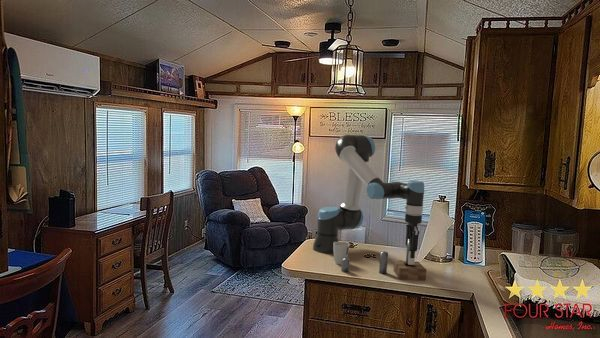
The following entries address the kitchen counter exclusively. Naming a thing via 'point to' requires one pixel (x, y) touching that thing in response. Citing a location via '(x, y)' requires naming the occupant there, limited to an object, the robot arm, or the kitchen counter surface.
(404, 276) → the hole block
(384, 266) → the pin medium
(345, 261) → the pin short
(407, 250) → the pin long
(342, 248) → the cup
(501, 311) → the kitchen counter surface
